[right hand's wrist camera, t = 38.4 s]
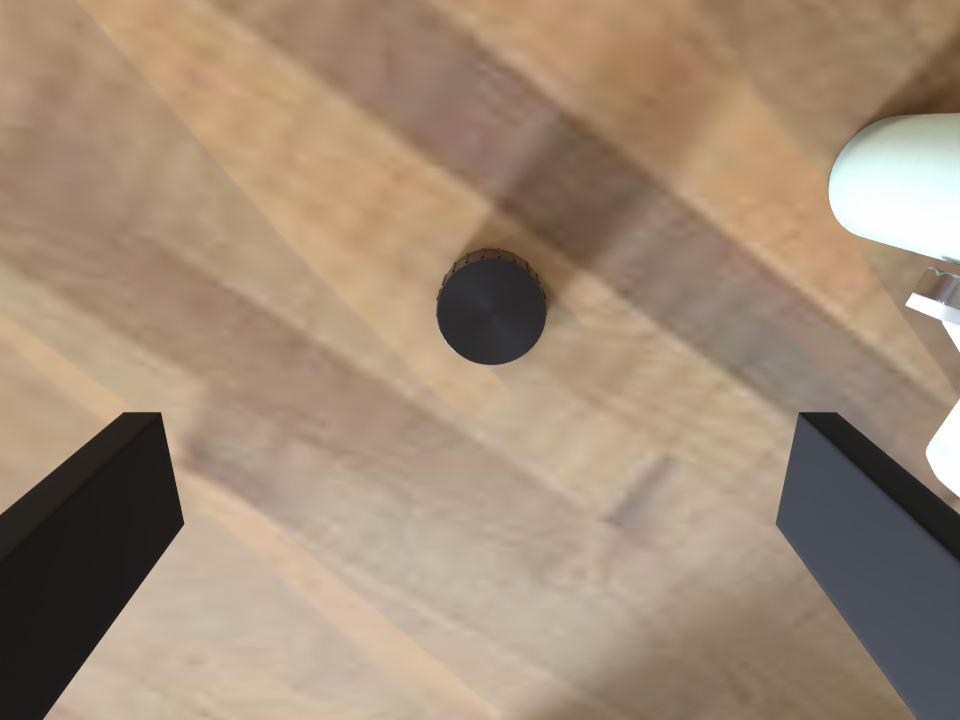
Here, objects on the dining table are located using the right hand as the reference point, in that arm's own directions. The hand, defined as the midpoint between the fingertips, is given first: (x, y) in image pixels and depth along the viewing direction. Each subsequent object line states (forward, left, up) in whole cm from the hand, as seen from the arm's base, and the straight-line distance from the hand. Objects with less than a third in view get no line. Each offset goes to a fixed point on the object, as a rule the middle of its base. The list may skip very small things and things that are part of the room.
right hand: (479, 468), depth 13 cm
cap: (0, -1, -14) cm, 14 cm away
